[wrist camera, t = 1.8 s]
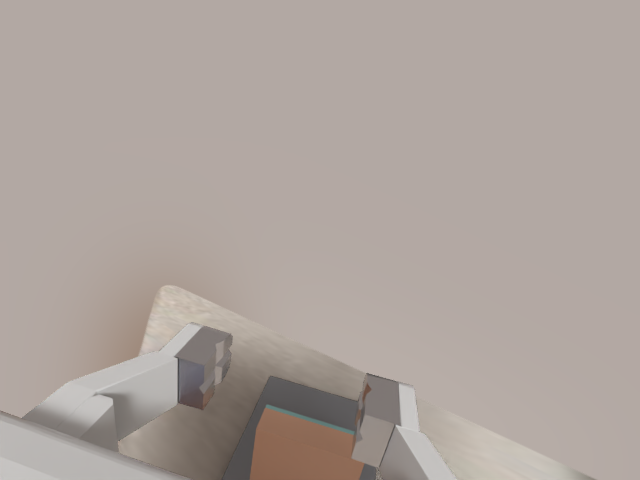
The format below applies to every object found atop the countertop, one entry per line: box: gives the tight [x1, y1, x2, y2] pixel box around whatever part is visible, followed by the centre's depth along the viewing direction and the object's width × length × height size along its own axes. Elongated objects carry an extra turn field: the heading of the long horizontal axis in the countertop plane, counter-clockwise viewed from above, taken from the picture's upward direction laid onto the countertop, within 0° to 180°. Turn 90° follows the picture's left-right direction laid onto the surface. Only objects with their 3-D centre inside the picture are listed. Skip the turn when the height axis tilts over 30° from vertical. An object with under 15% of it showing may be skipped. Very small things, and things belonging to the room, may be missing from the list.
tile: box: [250, 405, 365, 480], centre depth 24 cm, size 8×2×10 cm, turn 79°
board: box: [222, 376, 376, 480], centre depth 30 cm, size 14×18×2 cm
